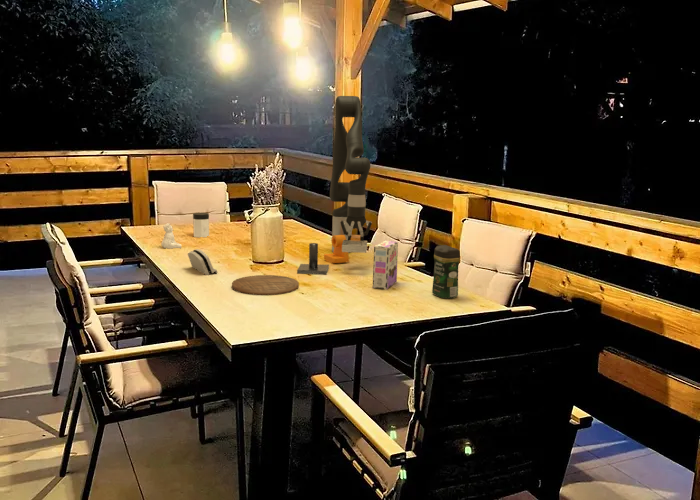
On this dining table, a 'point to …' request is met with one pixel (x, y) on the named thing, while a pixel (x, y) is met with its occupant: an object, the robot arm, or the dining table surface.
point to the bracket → (337, 251)
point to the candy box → (385, 264)
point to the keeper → (313, 263)
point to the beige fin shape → (201, 262)
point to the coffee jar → (446, 271)
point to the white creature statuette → (169, 238)
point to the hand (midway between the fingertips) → (355, 244)
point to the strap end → (354, 245)
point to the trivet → (265, 285)
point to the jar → (201, 224)
